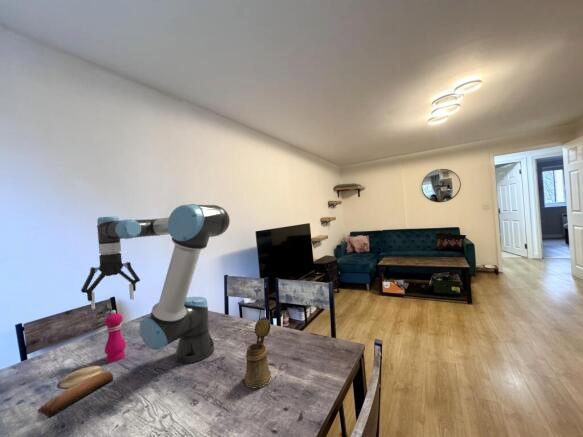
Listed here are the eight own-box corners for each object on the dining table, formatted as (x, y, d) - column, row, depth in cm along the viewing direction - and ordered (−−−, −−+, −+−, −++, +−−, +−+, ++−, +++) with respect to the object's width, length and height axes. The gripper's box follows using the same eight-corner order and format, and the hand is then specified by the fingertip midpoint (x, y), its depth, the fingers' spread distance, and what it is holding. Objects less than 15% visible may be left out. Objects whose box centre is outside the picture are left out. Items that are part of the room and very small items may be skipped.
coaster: (105, 374, 94) (105, 372, 94) (62, 392, 85) (62, 390, 85) (97, 363, 101) (97, 362, 101) (57, 379, 92) (57, 377, 92)
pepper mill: (118, 362, 102) (115, 313, 102) (100, 363, 102) (97, 314, 102) (130, 352, 109) (127, 306, 109) (113, 353, 109) (111, 307, 109)
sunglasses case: (98, 375, 93) (103, 361, 92) (110, 388, 91) (115, 374, 89) (34, 411, 76) (39, 395, 75) (46, 428, 74) (51, 412, 73)
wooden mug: (279, 365, 93) (276, 317, 93) (265, 390, 80) (262, 333, 80) (256, 363, 96) (254, 315, 96) (240, 386, 82) (237, 331, 82)
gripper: (140, 249, 118) (143, 294, 118) (69, 257, 99) (73, 311, 99) (145, 249, 113) (148, 296, 113) (73, 258, 94) (76, 315, 94)
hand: (113, 303), depth 106 cm, fingers open, 13 cm apart
